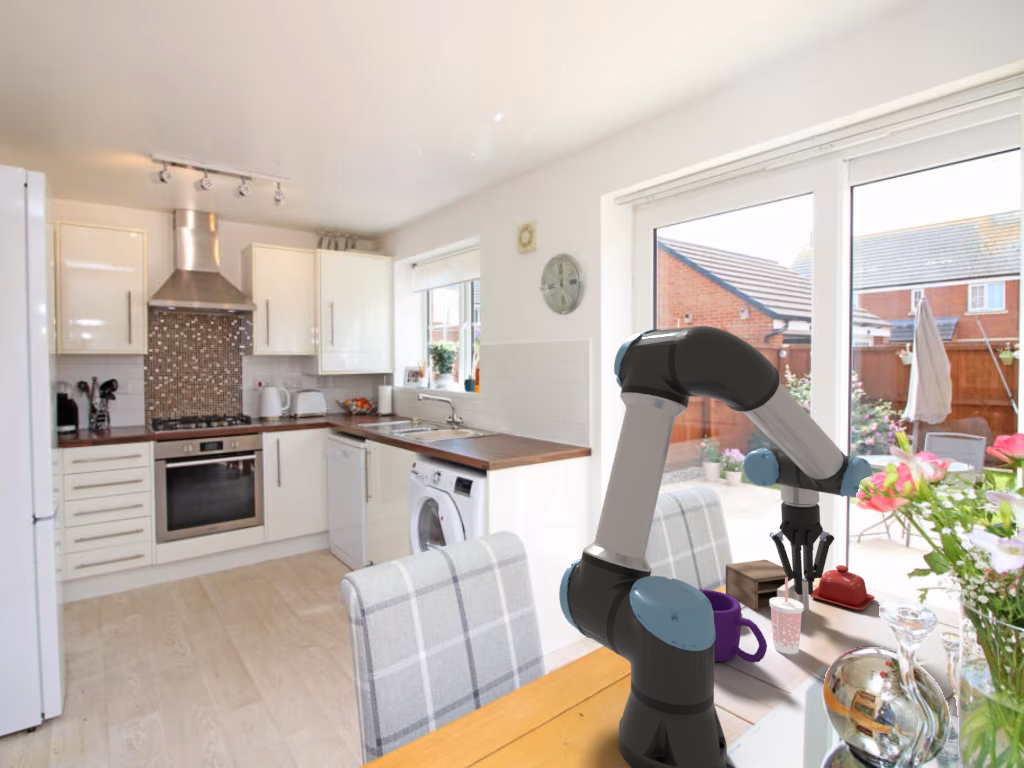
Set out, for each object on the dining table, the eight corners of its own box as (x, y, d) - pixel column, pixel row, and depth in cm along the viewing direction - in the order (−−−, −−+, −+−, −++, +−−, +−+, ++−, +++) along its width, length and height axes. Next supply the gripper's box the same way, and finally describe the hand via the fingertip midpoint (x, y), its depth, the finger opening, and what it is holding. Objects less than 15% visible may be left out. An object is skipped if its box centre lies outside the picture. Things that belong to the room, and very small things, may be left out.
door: (797, 603, 129) (797, 575, 129) (809, 606, 127) (809, 578, 127) (776, 618, 121) (777, 589, 121) (789, 622, 119) (790, 592, 119)
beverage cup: (810, 651, 108) (811, 580, 107) (789, 658, 105) (790, 585, 104) (782, 638, 113) (782, 570, 113) (762, 644, 110) (762, 575, 110)
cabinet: (797, 605, 129) (797, 573, 129) (754, 611, 125) (755, 579, 125) (765, 589, 138) (765, 559, 138) (725, 595, 135) (725, 564, 135)
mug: (667, 647, 109) (667, 597, 109) (702, 631, 116) (702, 584, 116) (748, 687, 95) (748, 630, 95) (783, 667, 102) (783, 613, 102)
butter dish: (862, 615, 124) (862, 578, 124) (807, 600, 132) (807, 565, 132) (876, 601, 132) (877, 566, 131) (824, 587, 140) (824, 554, 140)
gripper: (824, 498, 124) (828, 601, 125) (764, 498, 126) (769, 600, 127) (838, 506, 117) (842, 616, 117) (774, 507, 119) (779, 615, 119)
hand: (804, 608), depth 122 cm, fingers closed
